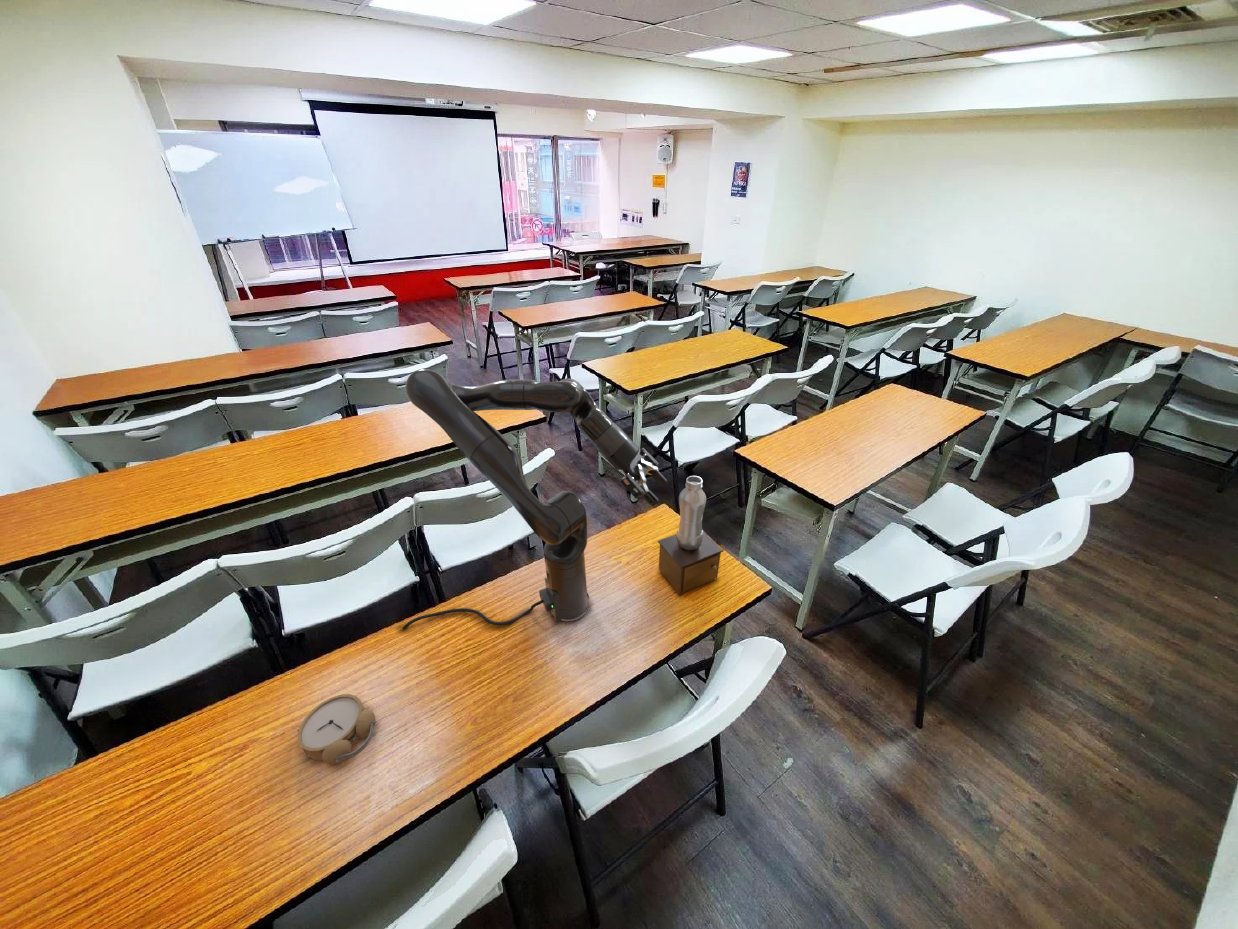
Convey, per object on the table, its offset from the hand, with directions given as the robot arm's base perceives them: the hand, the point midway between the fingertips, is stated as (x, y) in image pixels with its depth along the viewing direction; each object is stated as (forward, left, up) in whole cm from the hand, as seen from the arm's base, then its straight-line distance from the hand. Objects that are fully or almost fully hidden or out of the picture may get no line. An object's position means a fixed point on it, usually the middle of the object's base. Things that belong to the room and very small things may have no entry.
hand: (660, 493), depth 114 cm
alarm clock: (-77, -10, -26) cm, 82 cm away
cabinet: (+6, -6, -26) cm, 27 cm away
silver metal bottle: (+6, -6, -15) cm, 17 cm away
